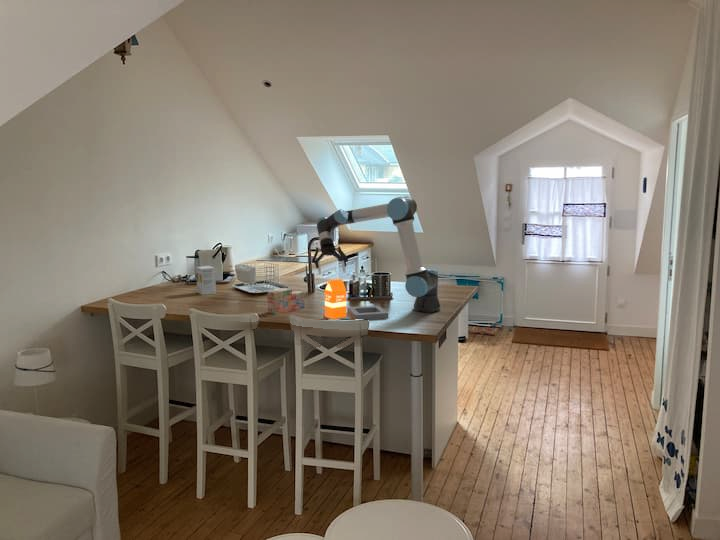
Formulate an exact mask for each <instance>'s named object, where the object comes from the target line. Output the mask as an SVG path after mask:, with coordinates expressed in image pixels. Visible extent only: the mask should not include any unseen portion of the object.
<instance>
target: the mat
mask: <svg viewBox="0 0 720 540" xmlns="http://www.w3.org/2000/svg"><path fill="white" fill-rule="evenodd" d="M323 317H324V318H325V320H327V319H330V318H328V317H325V314H323ZM337 319H350V320H351V318H350V316H348V315H347V314H346V317H343V318H337Z"/></svg>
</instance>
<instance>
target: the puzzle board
mask: <svg viewBox="0 0 720 540" xmlns="http://www.w3.org/2000/svg"><path fill="white" fill-rule="evenodd" d="M346 314H348V315H349V317H351V318H352V319H353V320H354V319H369V321H370V320H372V319H374V320H381V319H380V318H388V319H389V312H388V311H387V310H385V309H384V308H382V307H381V306H380V305H367V306H351V307H347V306H346Z"/></svg>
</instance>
